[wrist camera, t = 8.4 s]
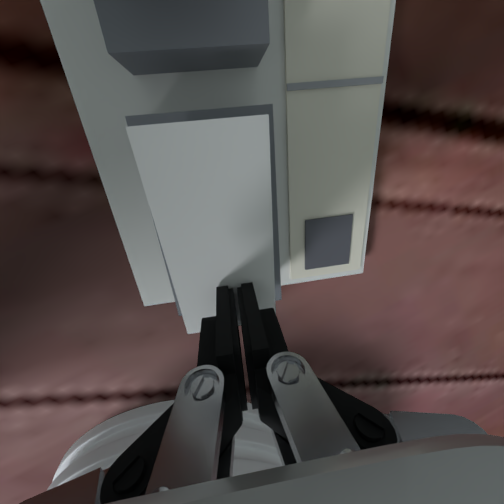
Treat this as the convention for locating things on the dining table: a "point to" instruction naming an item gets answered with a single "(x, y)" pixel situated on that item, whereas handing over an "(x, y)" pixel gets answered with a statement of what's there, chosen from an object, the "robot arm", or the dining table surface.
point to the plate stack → (138, 421)
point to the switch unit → (238, 111)
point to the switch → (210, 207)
